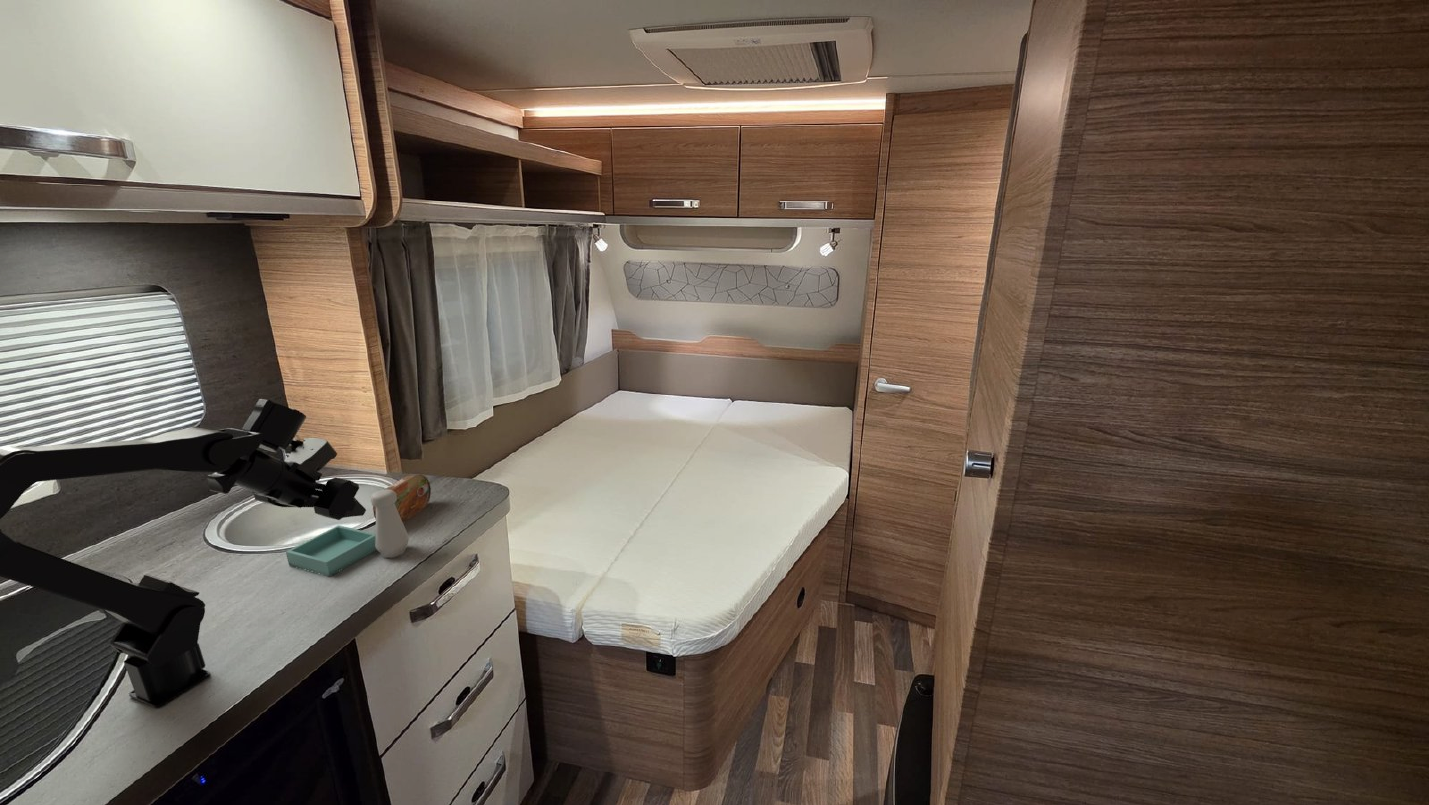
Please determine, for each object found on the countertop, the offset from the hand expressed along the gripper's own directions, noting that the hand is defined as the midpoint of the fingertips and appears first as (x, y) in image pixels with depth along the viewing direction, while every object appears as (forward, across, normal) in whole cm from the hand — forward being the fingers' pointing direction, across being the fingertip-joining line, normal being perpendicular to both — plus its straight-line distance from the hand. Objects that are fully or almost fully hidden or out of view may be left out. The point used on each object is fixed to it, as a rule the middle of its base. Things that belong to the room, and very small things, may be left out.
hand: (345, 508), depth 104 cm
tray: (+11, +10, +8) cm, 17 cm away
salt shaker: (+15, 0, +4) cm, 16 cm away
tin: (+24, +10, -4) cm, 26 cm away
